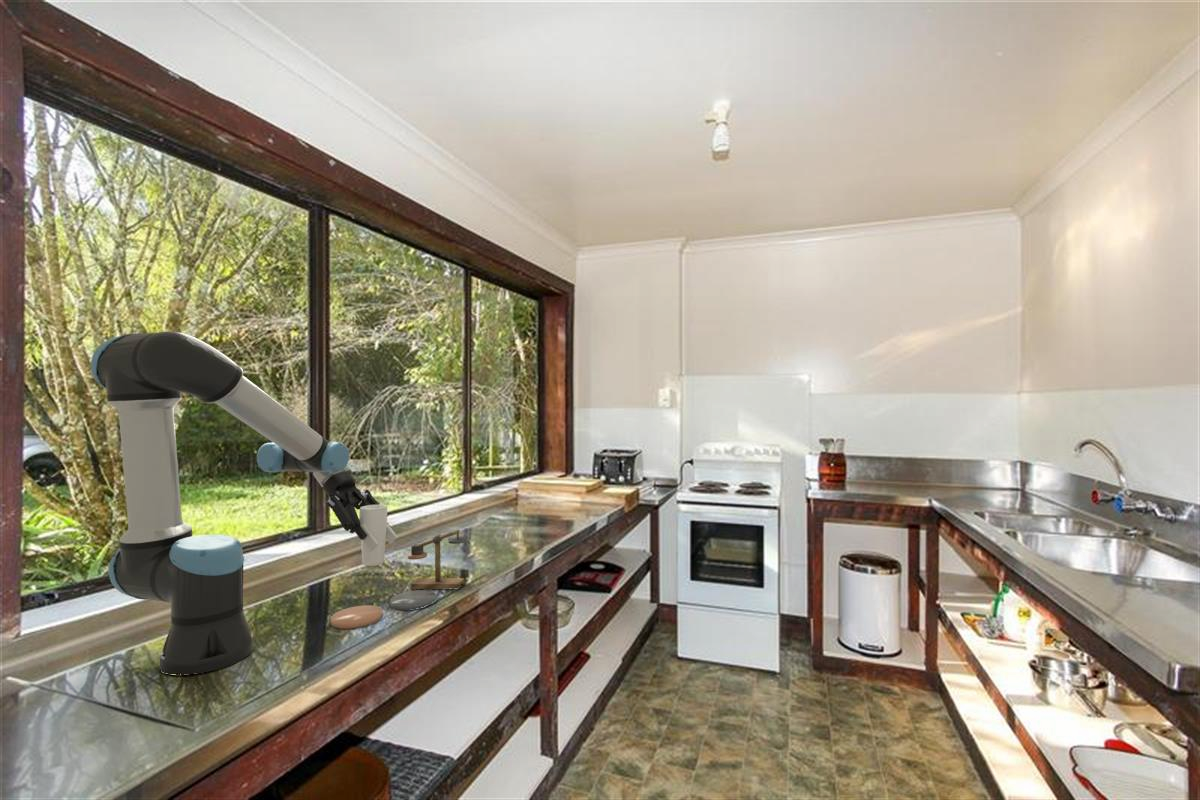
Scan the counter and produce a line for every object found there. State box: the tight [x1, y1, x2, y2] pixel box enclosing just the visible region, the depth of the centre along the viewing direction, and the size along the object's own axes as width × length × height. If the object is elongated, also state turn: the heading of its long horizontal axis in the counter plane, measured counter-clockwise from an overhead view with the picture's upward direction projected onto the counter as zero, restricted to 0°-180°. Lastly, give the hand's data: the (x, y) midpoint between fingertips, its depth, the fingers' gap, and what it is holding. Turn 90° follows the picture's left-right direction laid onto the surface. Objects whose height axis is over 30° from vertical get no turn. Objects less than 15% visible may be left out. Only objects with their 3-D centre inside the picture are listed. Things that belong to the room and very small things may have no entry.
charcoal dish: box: [389, 590, 437, 611], centre depth 138 cm, size 11×11×1 cm
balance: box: [407, 529, 468, 591], centre depth 150 cm, size 16×5×16 cm, turn 87°
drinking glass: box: [358, 504, 388, 567], centre depth 144 cm, size 7×7×15 cm
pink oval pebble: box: [330, 604, 384, 630], centre depth 127 cm, size 11×11×1 cm
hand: (384, 543), depth 142 cm, fingers closed on drinking glass, 7 cm apart
